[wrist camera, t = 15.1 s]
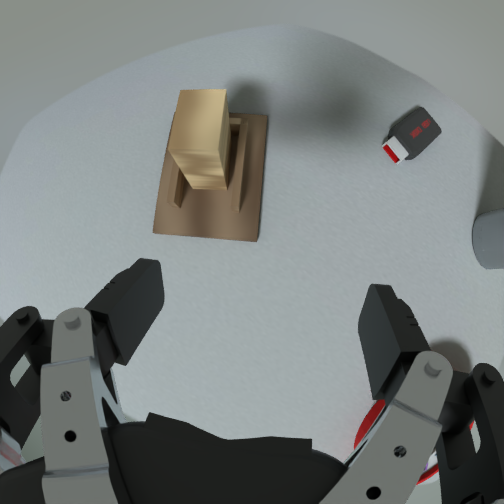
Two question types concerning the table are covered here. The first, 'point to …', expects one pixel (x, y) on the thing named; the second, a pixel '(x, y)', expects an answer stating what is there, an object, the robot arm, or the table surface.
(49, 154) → the table surface
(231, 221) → the groove board
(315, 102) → the table surface
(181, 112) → the oak plank
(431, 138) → the usb drive
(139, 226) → the table surface
